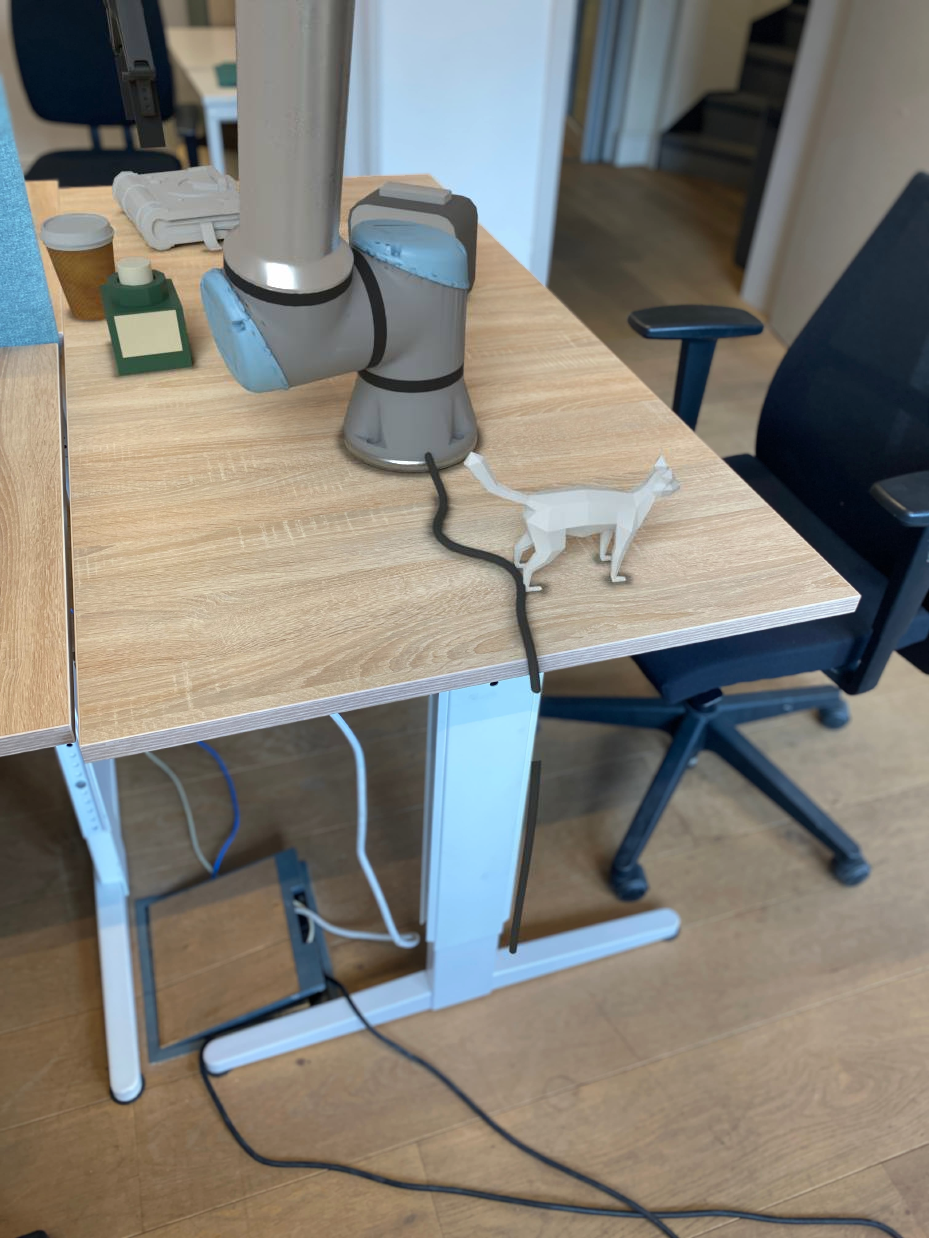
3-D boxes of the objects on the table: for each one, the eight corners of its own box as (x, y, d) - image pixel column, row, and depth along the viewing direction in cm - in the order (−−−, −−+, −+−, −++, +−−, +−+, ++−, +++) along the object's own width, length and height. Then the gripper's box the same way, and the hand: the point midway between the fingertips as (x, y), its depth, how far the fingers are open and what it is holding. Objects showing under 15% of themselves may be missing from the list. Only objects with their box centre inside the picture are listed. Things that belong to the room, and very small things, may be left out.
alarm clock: (351, 302, 133) (346, 190, 123) (381, 276, 142) (378, 169, 132) (455, 320, 130) (459, 206, 120) (479, 293, 138) (485, 184, 128)
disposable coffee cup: (143, 304, 130) (126, 217, 122) (106, 329, 123) (85, 239, 115) (85, 295, 132) (64, 208, 124) (45, 319, 125) (20, 229, 117)
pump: (155, 285, 111) (152, 266, 109) (121, 289, 109) (117, 269, 108) (151, 274, 113) (148, 255, 112) (118, 277, 112) (114, 258, 111)
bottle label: (182, 350, 114) (175, 310, 110) (123, 358, 111) (114, 316, 108) (182, 350, 114) (175, 309, 110) (122, 357, 111) (113, 316, 108)
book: (153, 263, 142) (144, 213, 137) (115, 211, 161) (105, 165, 156) (271, 248, 149) (266, 199, 144) (221, 200, 168) (215, 155, 163)
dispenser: (192, 367, 115) (179, 289, 109) (119, 376, 113) (101, 297, 106) (181, 335, 122) (168, 261, 116) (111, 343, 120) (94, 267, 113)
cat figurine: (669, 579, 86) (700, 448, 76) (463, 600, 82) (469, 466, 73) (652, 551, 89) (680, 423, 80) (453, 570, 85) (458, 438, 76)
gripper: (159, -91, 84) (195, 158, 98) (128, -106, 101) (163, 107, 115) (74, -93, 81) (123, 162, 95) (57, -108, 99) (101, 110, 113)
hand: (145, 132), depth 105 cm, fingers open, 13 cm apart
